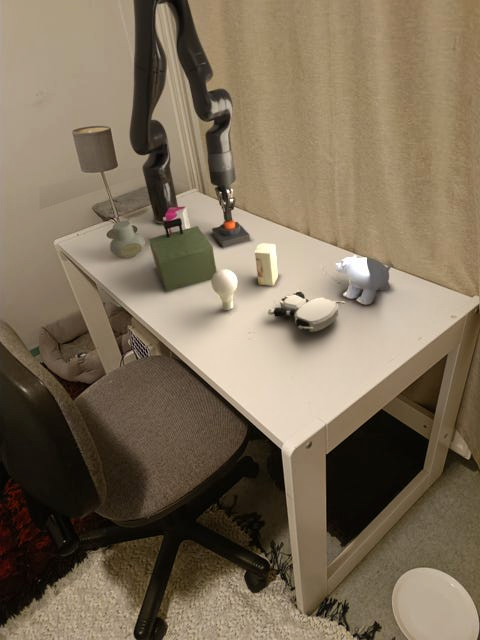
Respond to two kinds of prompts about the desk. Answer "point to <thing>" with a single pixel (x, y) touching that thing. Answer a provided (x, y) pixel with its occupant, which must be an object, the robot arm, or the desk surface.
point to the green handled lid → (179, 242)
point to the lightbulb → (225, 286)
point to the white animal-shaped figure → (364, 277)
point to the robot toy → (307, 311)
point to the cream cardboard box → (266, 264)
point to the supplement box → (178, 213)
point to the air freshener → (126, 240)
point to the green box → (186, 269)
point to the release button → (229, 224)
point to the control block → (230, 235)
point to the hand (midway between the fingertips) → (228, 220)
